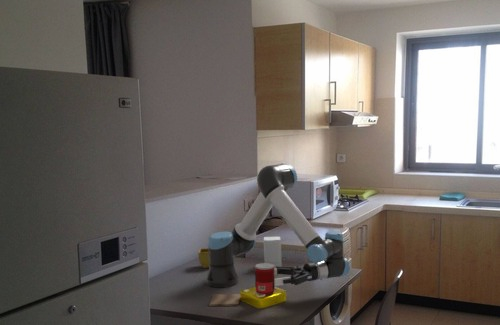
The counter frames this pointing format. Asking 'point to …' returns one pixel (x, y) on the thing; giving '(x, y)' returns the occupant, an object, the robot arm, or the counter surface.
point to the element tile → (262, 297)
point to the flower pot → (204, 257)
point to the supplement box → (272, 251)
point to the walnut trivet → (225, 300)
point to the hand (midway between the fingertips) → (268, 277)
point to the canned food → (264, 278)
